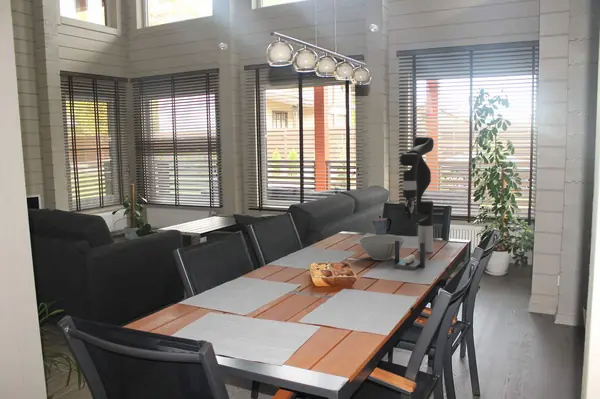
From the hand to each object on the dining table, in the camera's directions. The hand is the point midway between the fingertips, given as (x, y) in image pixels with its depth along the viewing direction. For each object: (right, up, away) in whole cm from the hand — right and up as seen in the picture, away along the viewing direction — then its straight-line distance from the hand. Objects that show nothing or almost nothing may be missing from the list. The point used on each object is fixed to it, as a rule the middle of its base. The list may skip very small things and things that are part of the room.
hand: (409, 219), depth 292 cm
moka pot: (-5, -20, +69) cm, 72 cm away
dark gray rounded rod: (-6, -27, +7) cm, 28 cm away
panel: (+1, -27, +3) cm, 27 cm away
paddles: (+1, -24, +3) cm, 24 cm away
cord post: (+7, -27, -1) cm, 28 cm away
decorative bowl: (-12, -25, +25) cm, 37 cm away
